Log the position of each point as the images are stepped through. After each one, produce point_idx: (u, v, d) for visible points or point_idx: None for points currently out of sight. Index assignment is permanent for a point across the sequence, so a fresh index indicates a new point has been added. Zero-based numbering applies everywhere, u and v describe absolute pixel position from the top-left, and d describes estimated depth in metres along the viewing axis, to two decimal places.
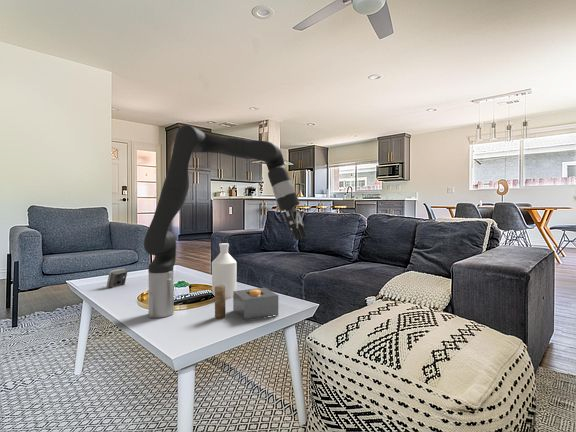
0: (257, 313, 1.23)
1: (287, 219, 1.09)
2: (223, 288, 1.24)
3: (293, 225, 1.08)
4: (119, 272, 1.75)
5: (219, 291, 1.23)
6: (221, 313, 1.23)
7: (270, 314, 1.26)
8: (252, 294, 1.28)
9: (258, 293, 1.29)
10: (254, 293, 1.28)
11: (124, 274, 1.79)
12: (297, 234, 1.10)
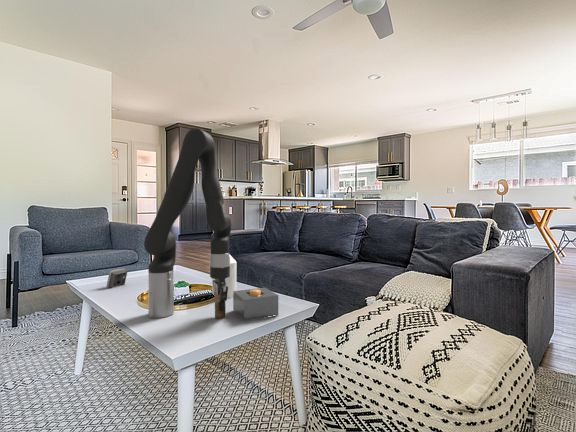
0: (257, 313, 1.23)
1: (222, 294, 1.19)
2: None
3: (224, 299, 1.21)
4: (119, 272, 1.75)
5: None
6: (221, 313, 1.23)
7: (270, 314, 1.26)
8: (252, 294, 1.28)
9: (258, 293, 1.29)
10: (254, 293, 1.28)
11: (124, 274, 1.79)
12: (223, 307, 1.22)
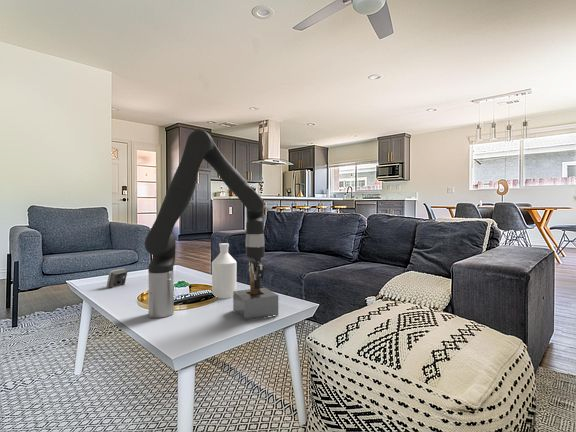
0: (257, 313, 1.23)
1: (258, 272, 1.24)
2: None
3: (261, 277, 1.26)
4: (119, 272, 1.75)
5: None
6: (257, 291, 1.28)
7: (270, 314, 1.26)
8: None
9: None
10: None
11: (124, 274, 1.79)
12: (259, 285, 1.27)
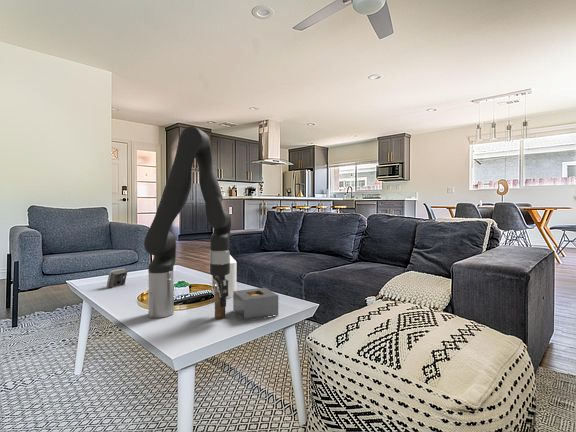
0: (257, 313, 1.23)
1: (222, 288, 1.18)
2: None
3: (226, 295, 1.19)
4: (119, 272, 1.75)
5: None
6: (221, 313, 1.23)
7: (270, 314, 1.26)
8: None
9: None
10: None
11: (124, 274, 1.79)
12: (224, 302, 1.20)
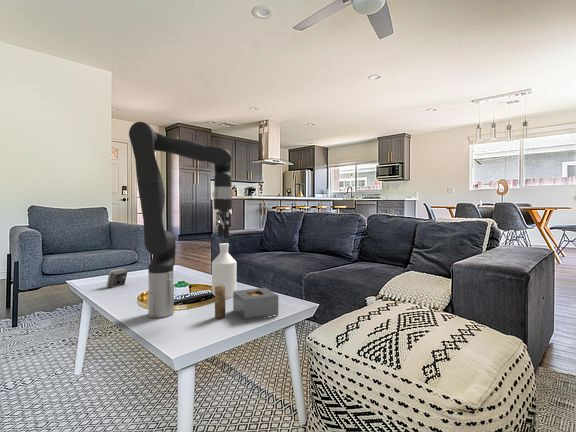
0: (257, 313, 1.23)
1: (225, 219, 1.28)
2: (223, 288, 1.24)
3: (229, 225, 1.29)
4: (119, 272, 1.75)
5: (219, 291, 1.23)
6: (221, 313, 1.23)
7: (270, 314, 1.26)
8: None
9: None
10: None
11: (124, 274, 1.79)
12: (227, 233, 1.31)
